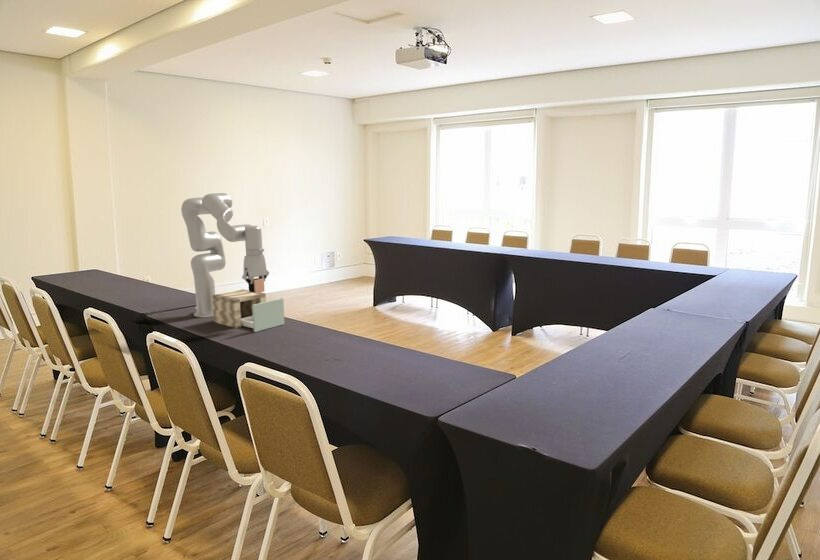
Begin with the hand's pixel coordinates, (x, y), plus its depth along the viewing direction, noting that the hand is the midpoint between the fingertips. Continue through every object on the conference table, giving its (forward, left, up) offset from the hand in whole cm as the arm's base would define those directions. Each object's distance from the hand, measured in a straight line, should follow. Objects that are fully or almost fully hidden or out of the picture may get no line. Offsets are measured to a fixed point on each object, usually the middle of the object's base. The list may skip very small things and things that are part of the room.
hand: (256, 290), depth 271 cm
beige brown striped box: (-14, 0, -17) cm, 23 cm away
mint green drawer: (0, 0, -17) cm, 17 cm away
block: (0, 0, -1) cm, 1 cm away
